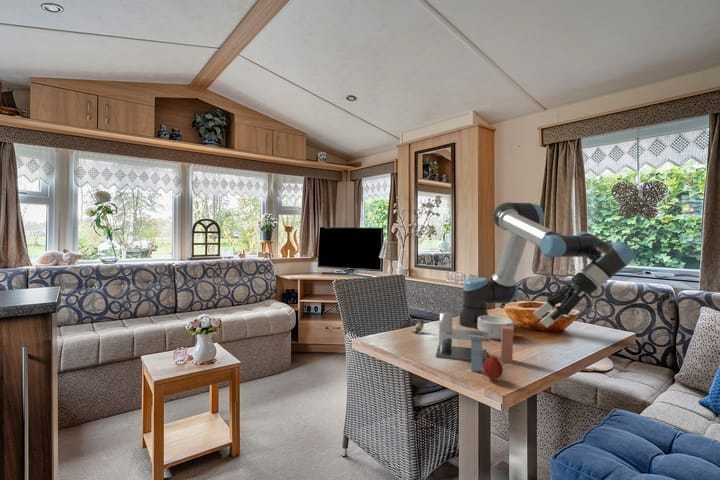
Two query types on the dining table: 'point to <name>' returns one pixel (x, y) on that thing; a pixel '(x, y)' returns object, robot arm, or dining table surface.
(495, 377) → the onion
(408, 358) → the dining table surface
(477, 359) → the grey stand
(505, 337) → the pink rectangular block
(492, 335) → the paper bowls
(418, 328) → the greenish grey small figure
